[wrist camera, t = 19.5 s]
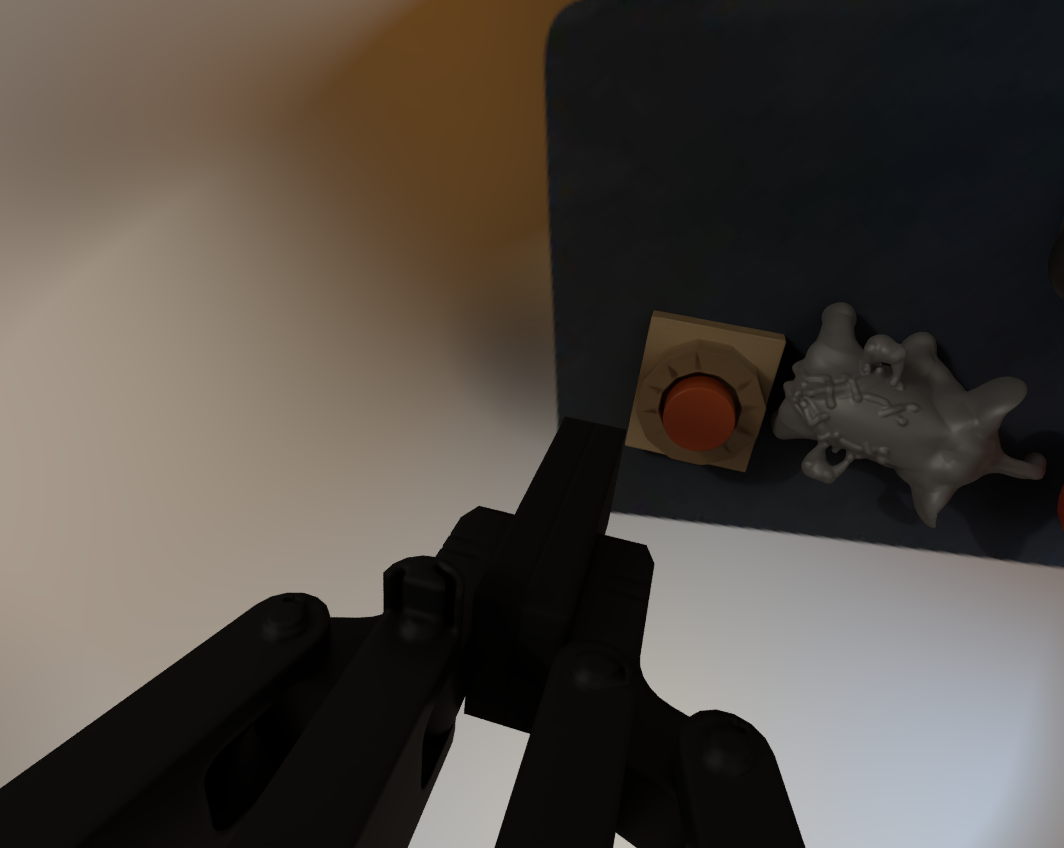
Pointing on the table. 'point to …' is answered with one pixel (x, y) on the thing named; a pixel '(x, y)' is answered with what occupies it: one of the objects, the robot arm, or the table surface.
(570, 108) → the table surface
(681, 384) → the button
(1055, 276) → the switch
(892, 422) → the grey toy figure
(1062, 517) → the apple
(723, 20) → the table surface
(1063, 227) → the beige cylinder
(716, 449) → the button base
